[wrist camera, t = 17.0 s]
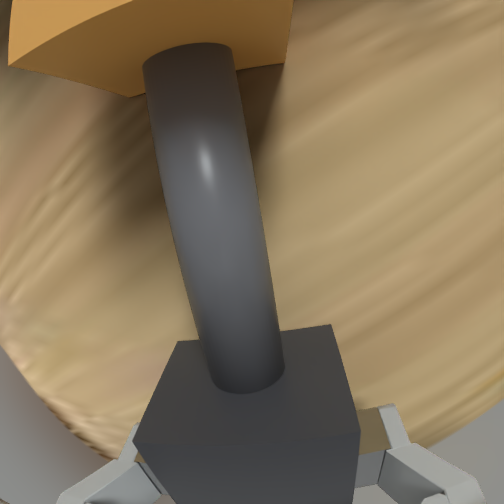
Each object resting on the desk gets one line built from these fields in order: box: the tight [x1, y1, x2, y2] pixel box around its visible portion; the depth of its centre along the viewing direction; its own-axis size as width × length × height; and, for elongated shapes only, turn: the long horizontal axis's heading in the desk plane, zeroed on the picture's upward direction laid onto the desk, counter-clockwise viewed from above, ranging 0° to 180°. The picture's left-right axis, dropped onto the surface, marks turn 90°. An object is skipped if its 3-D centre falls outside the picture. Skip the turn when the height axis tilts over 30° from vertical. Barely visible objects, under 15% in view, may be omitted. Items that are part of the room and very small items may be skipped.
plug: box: [8, 0, 361, 504], centre depth 6 cm, size 4×14×4 cm, turn 10°
